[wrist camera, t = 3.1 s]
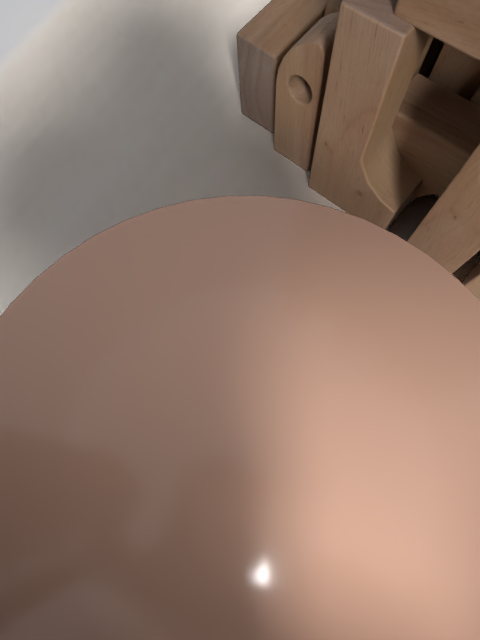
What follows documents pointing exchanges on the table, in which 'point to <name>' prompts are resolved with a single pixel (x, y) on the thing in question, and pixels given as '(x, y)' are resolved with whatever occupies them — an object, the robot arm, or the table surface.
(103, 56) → the table surface
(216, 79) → the table surface
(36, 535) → the salmon pink cylinder
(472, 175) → the wooden puzzle
